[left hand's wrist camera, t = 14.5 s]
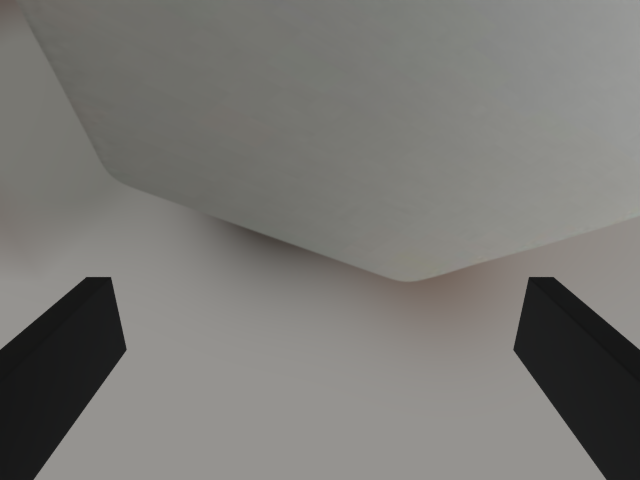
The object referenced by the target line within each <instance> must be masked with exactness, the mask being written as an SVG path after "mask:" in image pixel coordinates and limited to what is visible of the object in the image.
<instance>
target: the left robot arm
mask: <svg viewBox="0 0 640 480" xmlns="http://www.w3.org/2000/svg"><path fill="white" fill-rule="evenodd" d="M125 351H126V345H125V340H124V335H123V331H122V326H121V321H120V317H119V312H118V308H117V303H116V298H115V294H114V289H113V284H112V280H111V277H86V278H85V279H84V280H83V281H81V282H80V283H79V284H78V285H77V286H75V287H74V288H73V289H72V290H71V291H70V292H68V293H67V294H66V295H65V296H64V297H62V298H61V299H60V300H59V301H58V302H57V303H55V304H54V305H53V306H52V307H51V308H49V309H48V310H47V311H46V312H45V313H43V314H42V315H41V316H40V317H39V318H38V319H36V320H35V321H34V322H33V323H32V324H30V325H29V326H28V327H27V328H26V329H24V330H23V331H22V332H21V333H20V334H19V335H17V336H16V337H15V338H14V339H13V340H12V341H10V342H9V343H8V344H7V345H5V346H4V347H3V348H2V349H1V350H0V480H34V478H35V477H36V475H37V474H38V473H39V471H40V470H41V468H42V467H43V466H44V464H45V463H46V461H47V460H48V459H49V457H50V456H51V454H52V453H53V452H54V450H55V449H56V448H57V446H58V445H59V443H60V442H61V441H62V439H63V438H64V436H65V435H66V434H67V432H68V431H69V429H70V428H71V427H72V425H73V424H74V422H75V421H76V420H77V418H78V417H79V416H80V414H81V413H82V411H83V410H84V409H85V407H86V406H87V404H88V403H89V402H90V400H91V399H92V397H93V396H94V395H95V393H96V392H97V390H98V389H99V388H100V386H101V385H102V383H103V382H104V381H105V379H106V378H107V376H108V375H109V374H110V372H111V371H112V370H113V368H114V367H115V365H116V364H117V363H118V361H119V360H120V358H121V357H122V356H123V354H124V353H125ZM514 351H515V353H516V354H517V355H518V357H519V358H520V360H521V361H522V363H523V364H524V365H525V367H526V368H527V370H528V371H529V372H530V374H531V375H532V376H533V378H534V379H535V381H536V382H537V383H538V385H539V386H540V388H541V389H542V390H543V392H544V393H545V395H546V396H547V397H548V399H549V400H550V402H551V403H552V404H553V406H554V407H555V409H556V410H557V411H558V413H559V414H560V416H561V417H562V418H563V420H564V421H565V422H566V424H567V425H568V427H569V428H570V429H571V431H572V432H573V434H574V435H575V436H576V438H577V439H578V441H579V442H580V443H581V445H582V446H583V448H584V449H585V450H586V452H587V453H588V454H589V456H590V457H591V459H592V460H593V461H594V463H595V464H596V466H597V467H598V468H599V470H600V471H601V473H602V474H603V475H604V477H605V478H606V480H640V350H639V349H638V348H637V347H636V346H635V345H633V344H632V343H631V342H630V341H629V340H627V339H626V338H625V337H624V336H623V335H621V334H620V333H619V332H618V331H617V330H616V329H614V328H613V327H612V326H611V325H610V324H608V323H607V322H606V321H605V320H604V319H602V318H601V317H600V316H599V315H598V314H597V313H595V312H594V311H593V310H592V309H591V308H589V307H588V306H587V305H586V304H585V303H583V302H582V301H581V300H580V299H579V298H578V297H576V296H575V295H574V294H573V293H572V292H570V291H569V290H568V289H567V288H566V287H565V286H563V285H562V284H561V283H560V282H559V281H557V280H556V279H555V278H554V277H529V280H528V285H527V289H526V294H525V298H524V303H523V308H522V312H521V317H520V321H519V326H518V331H517V335H516V340H515V345H514Z"/></svg>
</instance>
